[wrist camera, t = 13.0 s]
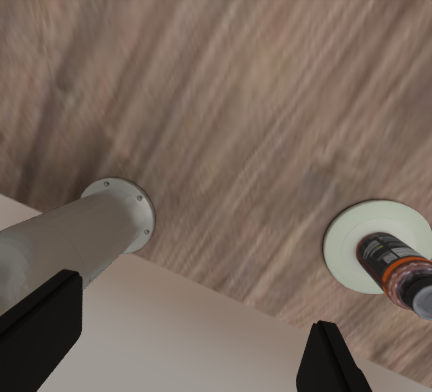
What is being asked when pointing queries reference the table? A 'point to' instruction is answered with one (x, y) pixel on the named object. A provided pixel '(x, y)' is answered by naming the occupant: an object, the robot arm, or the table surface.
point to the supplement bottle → (398, 271)
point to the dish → (365, 225)
